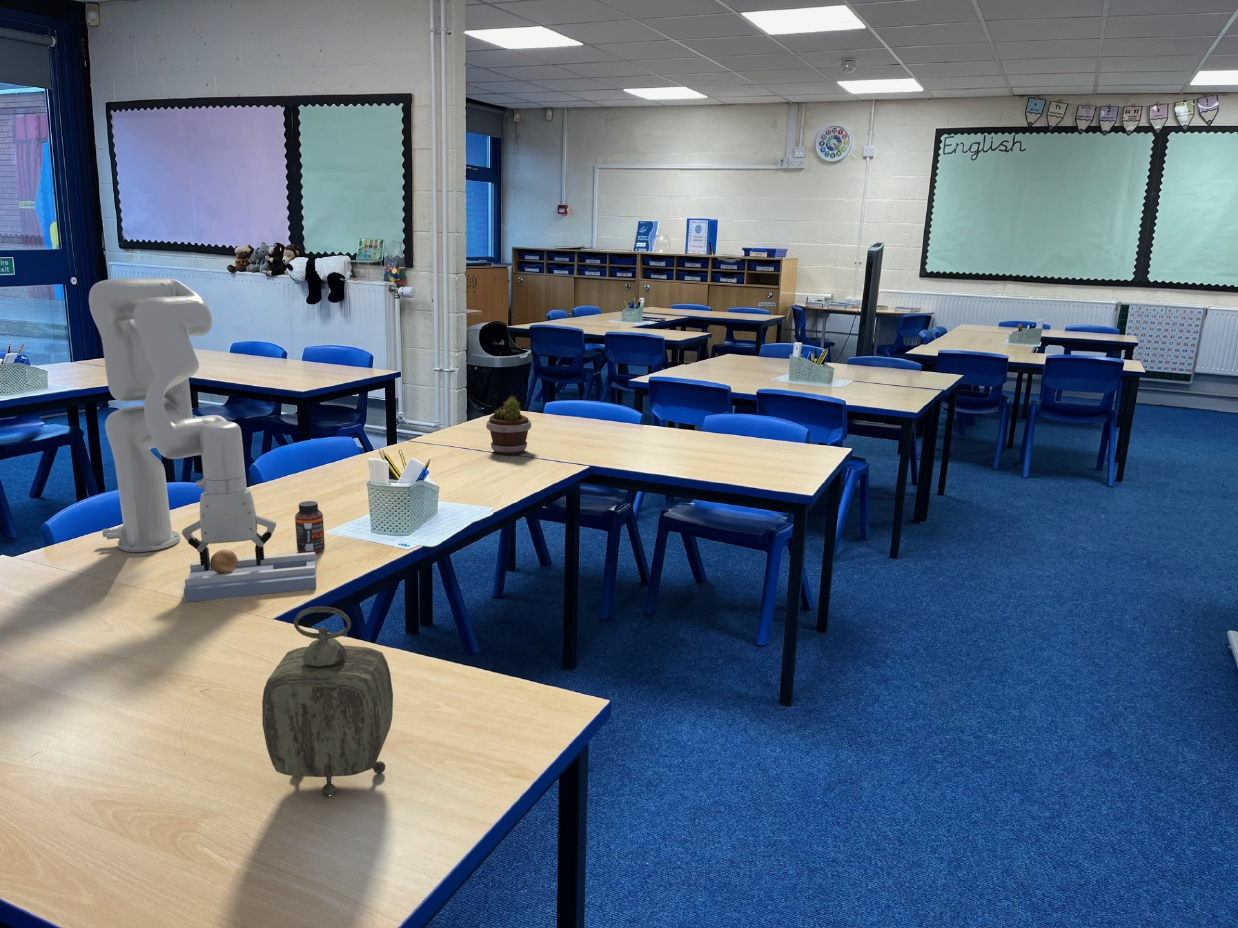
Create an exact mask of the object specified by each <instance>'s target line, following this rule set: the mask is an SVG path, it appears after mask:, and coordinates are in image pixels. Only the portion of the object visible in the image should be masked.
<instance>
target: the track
mask: <svg viewBox="0 0 1238 928" xmlns="http://www.w3.org/2000/svg"><path fill="white" fill-rule="evenodd" d="M237 559H238V563H237V566H236V568H235V570H234V571H232V572H231V573H229V574H218V573H216V572H215V571H214V570H213V569H212V567H211V563H210V567H209V570H208V571H205V570H204V565H203V566H201V563H200V561H199V562H190V565H189V566H190V567H189V568H190V572H189V575H188V577H185V579H184V588H183V595H184V598H183V599H184V603H189V602H199V601H200V602H201V601H209V600H219V599H229V598H230V599H231V598H238V597H239V598H240V597H249V596H259V595H269V594H279V593H287V592H289V593H290V592H299V591H309V590H316V589H317V560H316V559H317V558H316V554H315V552H310V553H299V552H298V553H291V554H290V553H289V554H279V555H277V554H275V555H268V556H266V555H264V560H261V565H260V566H258V565H256V556H255V557H254V556H253V557H244V558H237ZM210 562H211V560H210Z"/></svg>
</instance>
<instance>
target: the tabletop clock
mask: <svg viewBox="0 0 1238 928" xmlns="http://www.w3.org/2000/svg"><path fill="white" fill-rule="evenodd" d="M312 613H313V614H314V613H330V614H335V615H338V616H340V617H341V618H343V619H344V620H345V622H346V627H345V628H344V629H342V630H340V631H337V632H336V631H335V632H328V628H327V627H325V626H322V627H320V628H319V629H318V632H312V631H306V630H304V629H302V628H300V626H299V624H298V623H299V620H300V619H301V618H302V617H303V616H306V615H308V614H312ZM351 626H352V621H351V619H350V617H349V616H348V615H347V613H345V612H344V611H342V610H340V609H338V608H336V607H331V606H313V607H312V606H311V607H308V608H305V609H303V610H301V611H299V612H298V613H297V614H296V615H295V617H294V619H293V627H294V628H295V630H296V631H297V632H298V633H299V634H301V636H303V637H304V636H305V637H308V638H310V639H315V640H313V641H311V643H310V644H308V646H301V647H298V648H295V649H292V650H289V651H288V652H286V654H285V655H284V657H283V658H282V659H281V661H280V662H279V664H278V665H277V666H276V667H275V669H274V670H273V672H272V673H271V674H270V676H269V677H268V679H267V681H266V684H265V686H264V688H263V694H262V705H261V706H262V708H261V709H262V711H261V712H262V716H261V717H262V720H261V721H262V729H263V730H262V731H263V735H264V740H265V746H266V749H267V752H268V756H269V758H270V761H271V764H272V766H273V768H274V770H275V771H276V772H277V773H278V774H282V775H285V776H288V777H289V776H290V777H291V776H292V777H307V778H325V779H326V784H324V786H323V787H322V789H321V791H322V794H323V795H324V796H325V795H326V796H325V797H327V796H329V795H332V794H333V795H334V794H335V793H336V786H335V785H334V784H333V783H332V780H333V779H332V778H333V777H347V776H348V777H349V776H355V775H359V774H361V773H364V772H366V771H367V772H368V771H369V770H373V772H374V773H375V774H378V775H379V774H383V772H385V770H386V764H385V763H384V761H381V760H378V759H379V757H380V754H381V752H382V749H383V746H384V744H385V742H386V740H387V737H388V734H389V731H390V729H391V726H392V721H393V713H394V712H393V707H394V705H393V704H394V691H393V685H392V677H391V676H392V675H391V671H390V668H389V664H388V661H387V658H386V657H385V654H383V652H382V651H380V650H377V649H375V648H371V647H367V646H359V645H358V646H357V645H343V644H342V643H341V642H340V641H339V640H337V639H336V638H339V637H343V636H344V635H345V634H346V633H348V632H349V631H350V629H351ZM334 792H335V793H334ZM333 795H332V796H333Z"/></svg>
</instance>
